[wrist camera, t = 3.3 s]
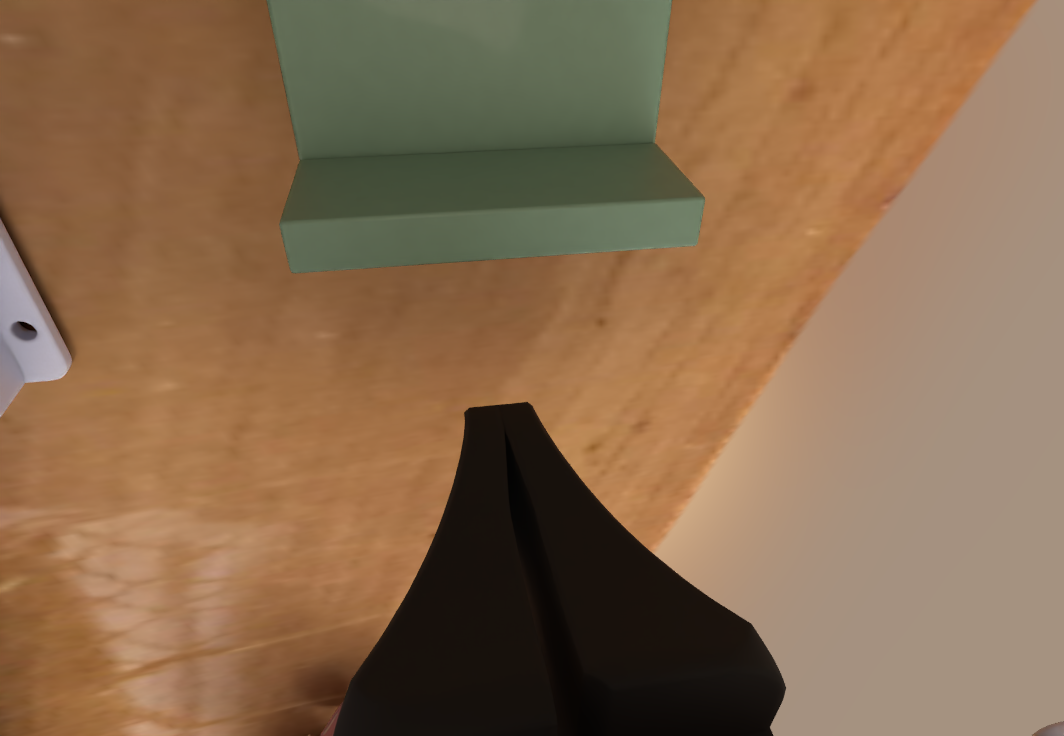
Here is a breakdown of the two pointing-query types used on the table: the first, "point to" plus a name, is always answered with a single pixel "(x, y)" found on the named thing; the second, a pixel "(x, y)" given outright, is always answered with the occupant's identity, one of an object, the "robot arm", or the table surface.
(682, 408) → the table surface
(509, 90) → the green seat
